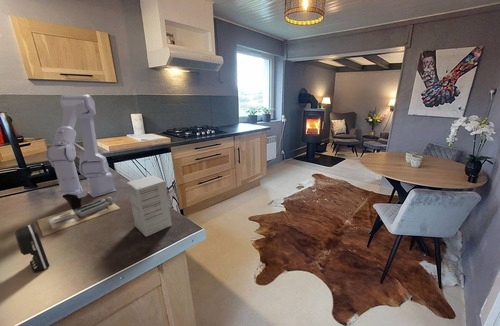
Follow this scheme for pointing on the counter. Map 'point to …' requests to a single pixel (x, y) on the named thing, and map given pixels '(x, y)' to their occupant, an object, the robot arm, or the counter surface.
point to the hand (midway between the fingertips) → (77, 210)
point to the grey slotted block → (93, 206)
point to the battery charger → (32, 247)
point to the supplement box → (149, 204)
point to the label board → (70, 219)
